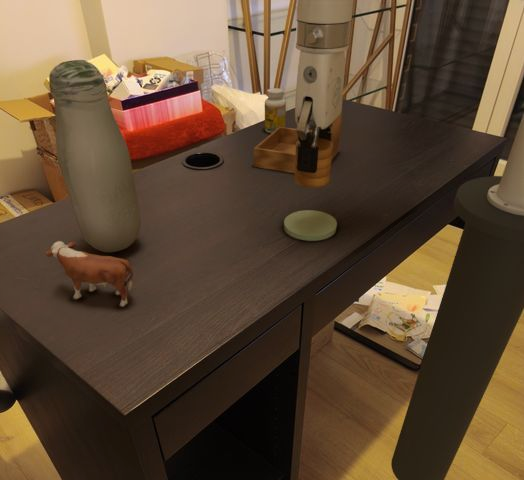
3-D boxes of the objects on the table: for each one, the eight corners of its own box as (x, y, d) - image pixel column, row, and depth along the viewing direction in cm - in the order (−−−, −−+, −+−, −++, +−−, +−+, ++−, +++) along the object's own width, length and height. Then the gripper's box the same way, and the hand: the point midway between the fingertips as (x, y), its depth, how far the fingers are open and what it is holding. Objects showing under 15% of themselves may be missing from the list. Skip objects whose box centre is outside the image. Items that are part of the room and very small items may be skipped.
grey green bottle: (117, 268, 78) (68, 75, 59) (73, 250, 82) (14, 64, 63) (157, 241, 84) (125, 58, 65) (115, 226, 88) (73, 50, 69)
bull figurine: (69, 279, 75) (53, 233, 70) (144, 295, 72) (134, 248, 67) (51, 295, 72) (33, 248, 67) (129, 312, 69) (117, 264, 64)
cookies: (334, 176, 82) (337, 140, 78) (323, 190, 78) (326, 153, 74) (301, 170, 84) (303, 135, 80) (289, 184, 80) (290, 147, 76)
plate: (342, 220, 89) (343, 215, 88) (327, 245, 83) (327, 240, 82) (294, 211, 92) (294, 206, 91) (275, 234, 85) (276, 229, 85)
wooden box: (254, 166, 107) (253, 148, 105) (278, 143, 118) (279, 126, 115) (318, 177, 103) (319, 158, 100) (338, 152, 113) (340, 134, 110)
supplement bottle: (289, 131, 124) (290, 90, 118) (273, 135, 122) (273, 94, 115) (276, 125, 127) (277, 85, 121) (260, 130, 125) (260, 89, 118)
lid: (317, 70, 90) (320, 70, 89) (340, 53, 100) (343, 53, 100) (318, 156, 100) (321, 156, 100) (339, 133, 110) (341, 133, 110)
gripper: (330, 50, 60) (318, 188, 72) (364, 26, 72) (349, 149, 84) (275, 45, 62) (273, 180, 74) (316, 23, 74) (309, 143, 86)
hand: (313, 162), depth 79 cm, fingers closed on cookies, 6 cm apart
